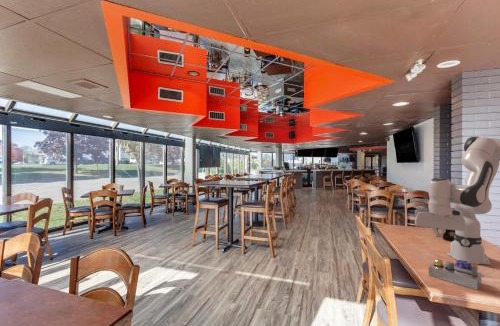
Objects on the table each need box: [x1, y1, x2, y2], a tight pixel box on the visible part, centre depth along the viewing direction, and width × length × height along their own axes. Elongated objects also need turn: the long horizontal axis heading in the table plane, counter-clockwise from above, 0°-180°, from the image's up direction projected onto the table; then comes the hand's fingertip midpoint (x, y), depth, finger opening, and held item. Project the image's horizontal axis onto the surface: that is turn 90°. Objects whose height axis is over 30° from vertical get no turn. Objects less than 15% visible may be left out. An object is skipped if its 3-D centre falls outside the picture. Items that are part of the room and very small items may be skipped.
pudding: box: [454, 260, 472, 271], centre depth 127 cm, size 12×12×5 cm
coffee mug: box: [436, 228, 455, 242], centre depth 180 cm, size 12×9×10 cm
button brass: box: [434, 258, 444, 268], centre depth 123 cm, size 3×3×4 cm
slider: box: [471, 263, 479, 276], centre depth 112 cm, size 3×1×5 cm, turn 129°
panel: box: [428, 261, 482, 291], centre depth 118 cm, size 10×18×5 cm, turn 39°
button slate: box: [445, 261, 455, 271], centre depth 119 cm, size 3×3×4 cm
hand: (438, 237), depth 123 cm, fingers closed
